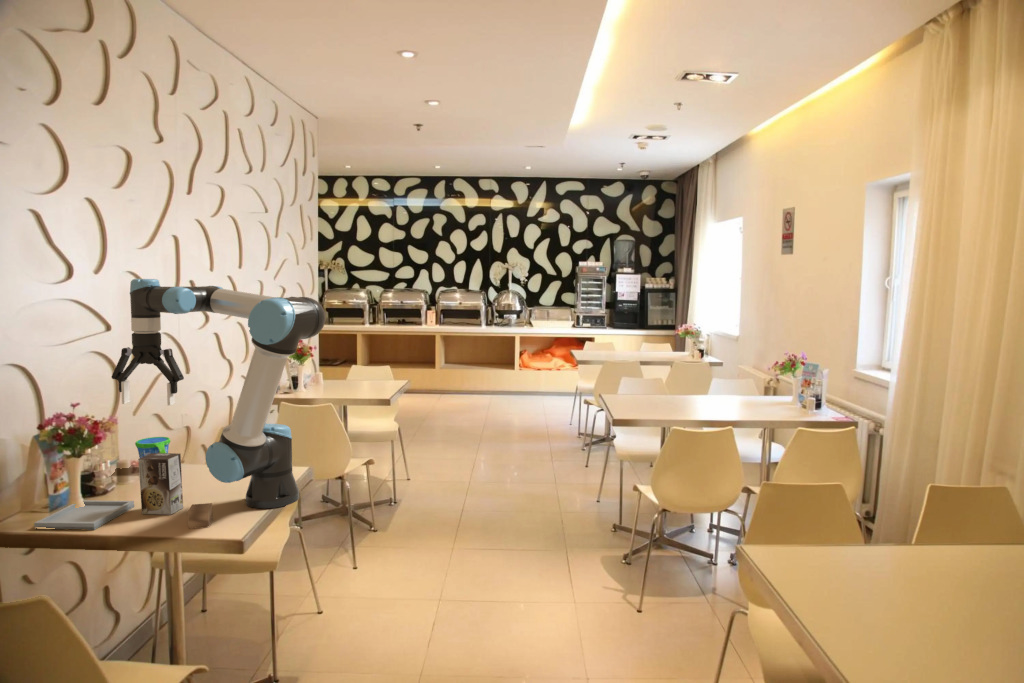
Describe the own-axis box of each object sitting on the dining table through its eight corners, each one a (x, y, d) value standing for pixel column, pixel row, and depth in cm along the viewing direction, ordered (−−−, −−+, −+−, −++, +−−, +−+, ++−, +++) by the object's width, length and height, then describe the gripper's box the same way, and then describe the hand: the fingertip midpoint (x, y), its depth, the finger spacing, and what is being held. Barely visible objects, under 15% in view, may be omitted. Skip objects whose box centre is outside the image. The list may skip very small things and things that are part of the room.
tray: (134, 506, 195) (133, 500, 195) (94, 530, 177) (93, 523, 177) (80, 506, 195) (79, 500, 195) (34, 529, 177) (34, 522, 177)
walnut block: (212, 520, 184) (211, 503, 184) (208, 527, 179) (208, 509, 179) (192, 522, 183) (192, 504, 183) (188, 528, 178) (187, 510, 178)
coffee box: (184, 507, 195) (181, 453, 193) (171, 515, 188) (168, 459, 187) (154, 506, 195) (151, 452, 194) (140, 514, 189) (137, 458, 187)
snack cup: (131, 466, 236) (129, 438, 235) (163, 461, 243) (162, 433, 242) (144, 476, 225) (142, 446, 224) (177, 470, 232) (176, 441, 231)
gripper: (195, 332, 198) (196, 402, 201) (112, 329, 199) (115, 400, 201) (181, 334, 191) (183, 407, 193) (96, 331, 192) (98, 404, 194)
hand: (148, 403), depth 197 cm, fingers open, 13 cm apart
